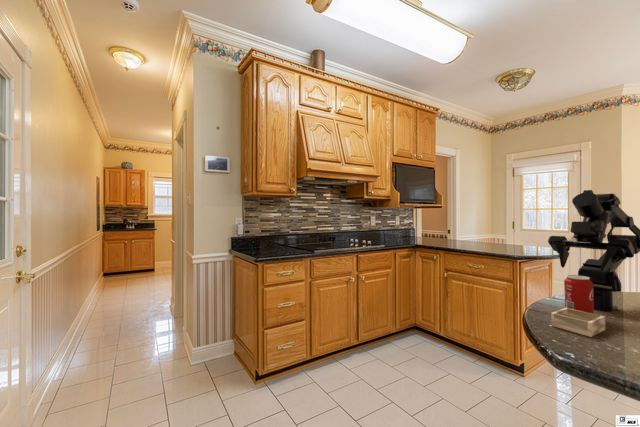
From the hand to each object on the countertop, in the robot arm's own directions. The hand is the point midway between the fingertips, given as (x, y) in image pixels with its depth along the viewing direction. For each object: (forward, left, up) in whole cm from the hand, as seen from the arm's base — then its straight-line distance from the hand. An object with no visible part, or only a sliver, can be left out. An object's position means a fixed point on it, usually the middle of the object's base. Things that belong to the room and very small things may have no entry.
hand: (581, 269), depth 86 cm
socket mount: (+11, +3, -14) cm, 18 cm away
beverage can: (+2, 0, -14) cm, 14 cm away
